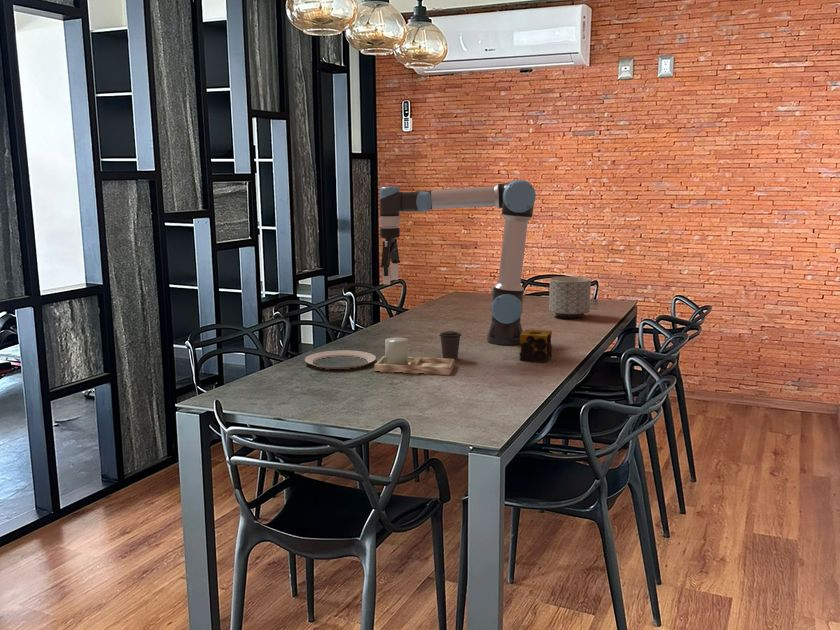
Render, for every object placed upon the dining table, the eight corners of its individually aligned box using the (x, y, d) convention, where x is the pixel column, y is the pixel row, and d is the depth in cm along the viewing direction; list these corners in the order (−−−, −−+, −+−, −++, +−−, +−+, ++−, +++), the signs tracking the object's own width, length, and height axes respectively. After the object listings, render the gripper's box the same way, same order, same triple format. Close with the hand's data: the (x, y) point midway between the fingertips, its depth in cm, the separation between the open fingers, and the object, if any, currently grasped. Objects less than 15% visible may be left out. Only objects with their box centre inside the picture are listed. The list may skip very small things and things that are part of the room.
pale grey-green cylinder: (410, 362, 275) (410, 338, 274) (405, 368, 267) (405, 342, 266) (388, 362, 276) (387, 337, 275) (383, 367, 269) (382, 341, 267)
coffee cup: (454, 362, 280) (454, 335, 278) (435, 359, 284) (435, 332, 283) (465, 357, 287) (465, 331, 285) (446, 355, 291) (446, 329, 289)
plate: (296, 359, 286) (296, 354, 286) (362, 353, 296) (362, 347, 296) (315, 375, 263) (315, 369, 263) (386, 367, 273) (386, 362, 273)
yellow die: (552, 357, 288) (552, 330, 287) (547, 363, 279) (548, 335, 277) (524, 355, 292) (525, 329, 290) (519, 361, 282) (519, 334, 280)
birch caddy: (454, 365, 275) (454, 358, 275) (449, 374, 262) (449, 367, 262) (382, 362, 279) (382, 356, 279) (374, 371, 267) (374, 364, 266)
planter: (595, 315, 373) (596, 278, 370) (580, 321, 357) (582, 282, 354) (558, 312, 383) (559, 275, 380) (542, 318, 367) (543, 279, 364)
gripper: (387, 225, 311) (388, 277, 315) (372, 229, 287) (373, 286, 291) (406, 225, 310) (406, 278, 314) (392, 229, 286) (392, 286, 290)
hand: (390, 282), depth 302 cm, fingers open, 13 cm apart
